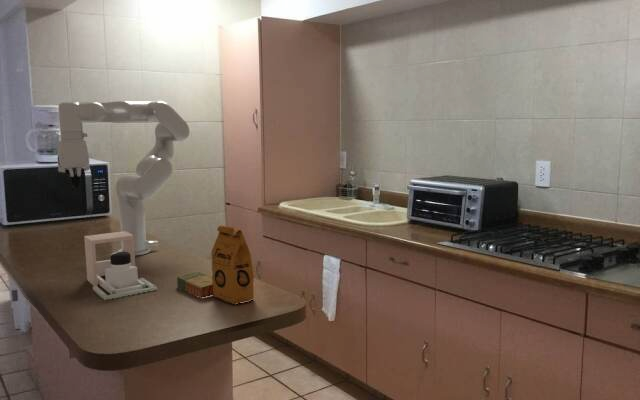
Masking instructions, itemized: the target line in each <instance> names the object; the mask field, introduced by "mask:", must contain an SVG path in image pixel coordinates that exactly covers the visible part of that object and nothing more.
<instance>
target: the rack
mask: <svg viewBox="0 0 640 400" xmlns="http://www.w3.org/2000/svg"><path fill="white" fill-rule="evenodd" d="M96 266H97V281H98V286H100V287H101V288H103V289H104V290H105V291H106V292H107V293H109V295H112V294H117V293H123V292H128V291H134V290H139V289H144V288H146V285H145V283H144V282H142V281H141V280H140V278H138V285H137V286H131V287H126V288H120V289H115V288H114V287H112V286H111V285H110V284H108V283H106V279H104V278H102V277H103V276H104V277H105V269H106V268H110V267H111V259H107V260H99V261H96Z"/></svg>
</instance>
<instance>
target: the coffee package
mask: <svg viewBox="0 0 640 400" xmlns="http://www.w3.org/2000/svg"><path fill="white" fill-rule="evenodd" d="M216 230H217V232H218V234H217V237H216V239H215V242H214V245H213V246H212V249H211V252H210V253H211V254H210V255H211V271H212V276H211V277H212V283H213V296H214V297H215V298H218V299H220V300H223V301H224V302H225V303H228V302H230V303H229V304H231V303H232V304H231V305H233V304H236V303H240V302H244V301H249V300H251V299H253V298H254V296H255V295H254V294H255V292H254V281H255V280H254V278H255V277H254V271H253V270H254V269H253V262H252V255H251V252H250V249H249V246H248V244H247V241H246V238H245V236H244V233H243V231H242V229H237V228H235V227H232V226H231V227H230V226H227V225H218V226H217V229H216ZM254 299H255V298H254Z"/></svg>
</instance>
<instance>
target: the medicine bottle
mask: <svg viewBox="0 0 640 400" xmlns="http://www.w3.org/2000/svg"><path fill="white" fill-rule="evenodd" d="M110 260H111V267H110V268H106V269H105V276H104V277H105V281H106V283H108V284H110V285H111V286H112V287H114V288H115V289H120V288H126V287H131V286H137V285H138V279H139V275H138V274H139V272H138V266H136V265H135V266H130V265H131V255H130V253H128V252H124V251H122V252H118V251H116V252H113V253H111V254H110Z"/></svg>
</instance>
